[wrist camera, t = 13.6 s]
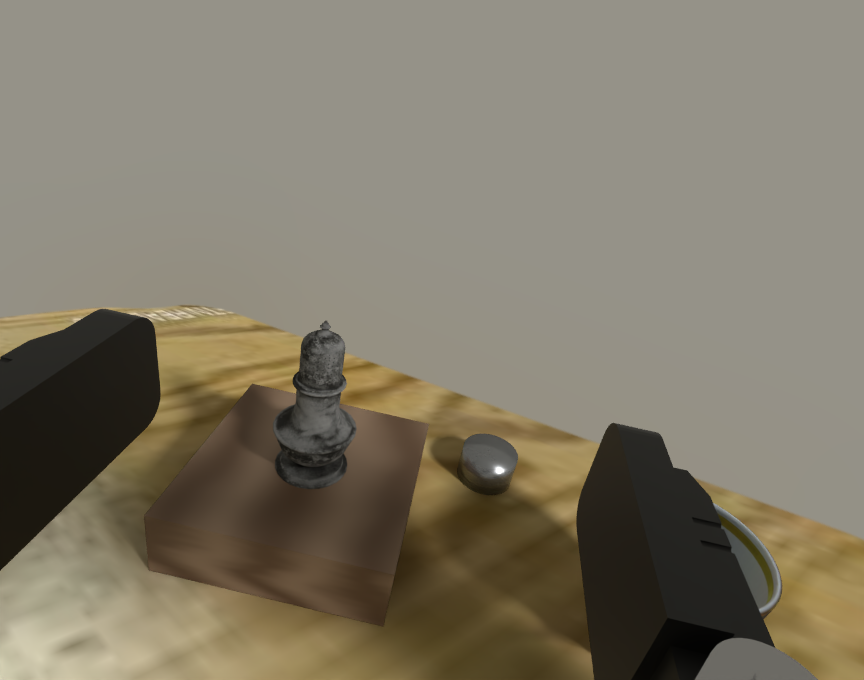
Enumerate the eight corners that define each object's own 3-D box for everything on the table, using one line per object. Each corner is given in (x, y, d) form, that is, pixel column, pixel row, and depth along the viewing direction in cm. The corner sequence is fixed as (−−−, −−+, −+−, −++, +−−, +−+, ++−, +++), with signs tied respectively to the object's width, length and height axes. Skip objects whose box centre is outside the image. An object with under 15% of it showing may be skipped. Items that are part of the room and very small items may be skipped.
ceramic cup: (588, 558, 44) (631, 463, 39) (717, 629, 40) (781, 533, 36) (531, 693, 34) (581, 585, 29) (698, 806, 30) (786, 703, 25)
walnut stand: (419, 467, 50) (428, 423, 48) (383, 626, 36) (394, 574, 33) (250, 428, 50) (252, 383, 48) (148, 569, 36) (144, 515, 34)
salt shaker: (365, 476, 40) (388, 335, 35) (290, 503, 37) (303, 350, 31) (328, 430, 44) (344, 297, 39) (258, 450, 41) (264, 306, 35)
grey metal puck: (509, 465, 53) (517, 440, 51) (509, 501, 48) (518, 475, 47) (459, 453, 53) (465, 428, 52) (454, 488, 48) (461, 462, 47)
